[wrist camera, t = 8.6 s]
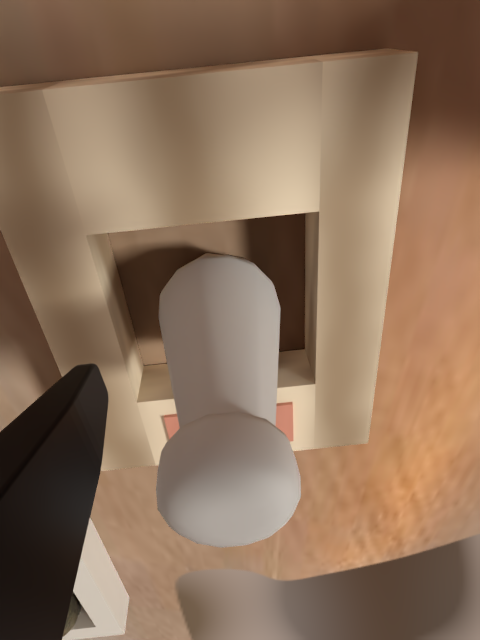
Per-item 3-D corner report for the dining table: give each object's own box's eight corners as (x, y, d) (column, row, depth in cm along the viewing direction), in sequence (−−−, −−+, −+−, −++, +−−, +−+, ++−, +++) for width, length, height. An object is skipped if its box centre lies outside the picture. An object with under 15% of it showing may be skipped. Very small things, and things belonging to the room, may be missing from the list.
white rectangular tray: (48, 432, 28) (32, 471, 25) (129, 597, 41) (124, 634, 39) (-141, 452, 28) (-175, 493, 25) (0, 611, 41) (-13, 648, 39)
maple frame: (387, 48, 17) (420, 52, 14) (353, 406, 28) (368, 445, 26) (-17, 88, 17) (-58, 100, 14) (110, 432, 28) (100, 474, 26)
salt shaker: (170, 335, 24) (141, 581, 14) (154, 241, 21) (98, 465, 10) (274, 327, 24) (326, 564, 14) (273, 232, 21) (341, 444, 10)
